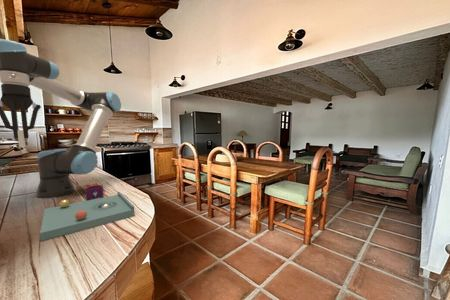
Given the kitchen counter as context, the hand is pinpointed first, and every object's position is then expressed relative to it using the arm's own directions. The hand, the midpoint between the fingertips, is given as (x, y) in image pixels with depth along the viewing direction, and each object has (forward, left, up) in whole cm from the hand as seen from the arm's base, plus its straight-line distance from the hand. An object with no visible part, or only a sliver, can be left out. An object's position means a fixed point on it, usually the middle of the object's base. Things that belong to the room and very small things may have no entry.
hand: (22, 147), depth 75 cm
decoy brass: (+12, +11, -22) cm, 27 cm away
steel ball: (+20, +23, -25) cm, 40 cm away
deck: (+20, +18, -26) cm, 38 cm away
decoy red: (+29, +15, -22) cm, 40 cm away
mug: (+1, +22, -27) cm, 35 cm away
